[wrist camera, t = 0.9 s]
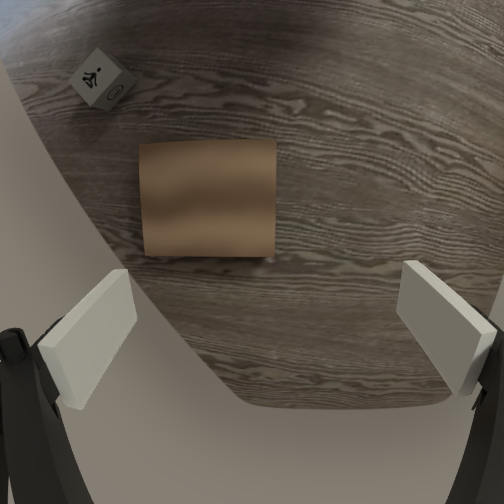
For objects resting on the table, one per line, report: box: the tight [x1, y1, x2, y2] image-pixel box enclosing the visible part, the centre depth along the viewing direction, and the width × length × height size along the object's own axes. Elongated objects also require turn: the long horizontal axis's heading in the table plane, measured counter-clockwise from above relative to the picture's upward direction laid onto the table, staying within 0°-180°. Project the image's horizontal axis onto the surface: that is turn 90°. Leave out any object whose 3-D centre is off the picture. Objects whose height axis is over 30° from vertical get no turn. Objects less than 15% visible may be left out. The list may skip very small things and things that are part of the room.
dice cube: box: [68, 47, 138, 111], centre depth 28 cm, size 5×5×5 cm
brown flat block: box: [139, 139, 277, 257], centre depth 33 cm, size 12×14×4 cm
